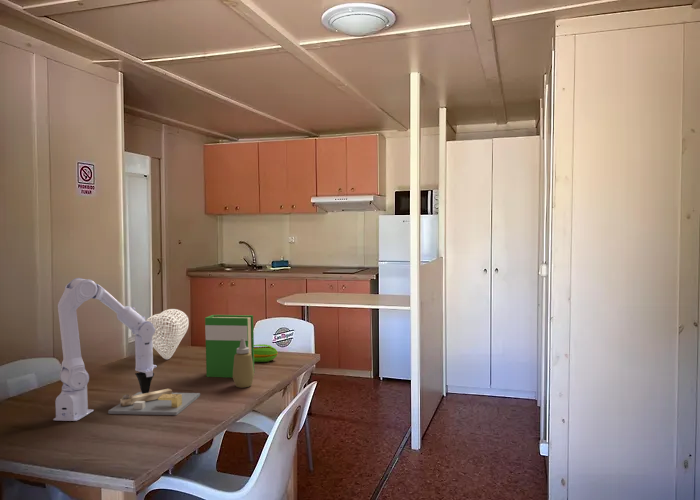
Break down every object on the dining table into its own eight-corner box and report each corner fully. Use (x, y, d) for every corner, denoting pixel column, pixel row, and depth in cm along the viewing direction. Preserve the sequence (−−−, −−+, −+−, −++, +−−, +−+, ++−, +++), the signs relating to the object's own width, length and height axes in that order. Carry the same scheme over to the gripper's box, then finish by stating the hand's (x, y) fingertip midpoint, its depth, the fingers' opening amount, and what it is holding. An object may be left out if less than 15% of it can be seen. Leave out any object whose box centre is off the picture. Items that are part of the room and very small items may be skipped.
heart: (173, 366, 233) (172, 316, 232) (138, 367, 233) (136, 316, 233) (193, 352, 261) (192, 306, 260) (162, 352, 261) (160, 307, 261)
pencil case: (276, 345, 238) (231, 346, 238) (276, 362, 237) (231, 363, 238) (278, 343, 245) (235, 343, 245) (278, 360, 245) (235, 360, 245)
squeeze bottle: (233, 389, 198) (232, 341, 197) (232, 383, 206) (231, 337, 205) (255, 387, 200) (254, 340, 199) (253, 382, 208) (252, 336, 207)
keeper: (177, 407, 175) (176, 397, 175) (158, 407, 176) (157, 397, 176) (182, 403, 179) (181, 394, 179) (163, 403, 180) (163, 393, 180)
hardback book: (254, 373, 221) (253, 315, 220) (248, 378, 214) (247, 318, 213) (213, 371, 224) (212, 314, 223) (206, 376, 217) (205, 317, 216)
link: (122, 406, 177) (122, 397, 177) (119, 404, 179) (119, 395, 179) (172, 396, 187) (172, 387, 187) (168, 393, 190) (168, 385, 190)
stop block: (142, 409, 175) (142, 403, 175) (133, 408, 175) (133, 402, 175) (145, 407, 177) (145, 401, 177) (136, 406, 177) (136, 400, 177)
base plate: (176, 415, 171) (176, 412, 171) (108, 413, 174) (108, 410, 174) (200, 395, 191) (200, 393, 191) (138, 394, 193) (138, 392, 193)
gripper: (161, 356, 184) (162, 395, 185) (150, 349, 196) (151, 385, 197) (140, 359, 180) (141, 399, 181) (130, 351, 192) (131, 389, 193)
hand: (145, 392), depth 188 cm, fingers closed
